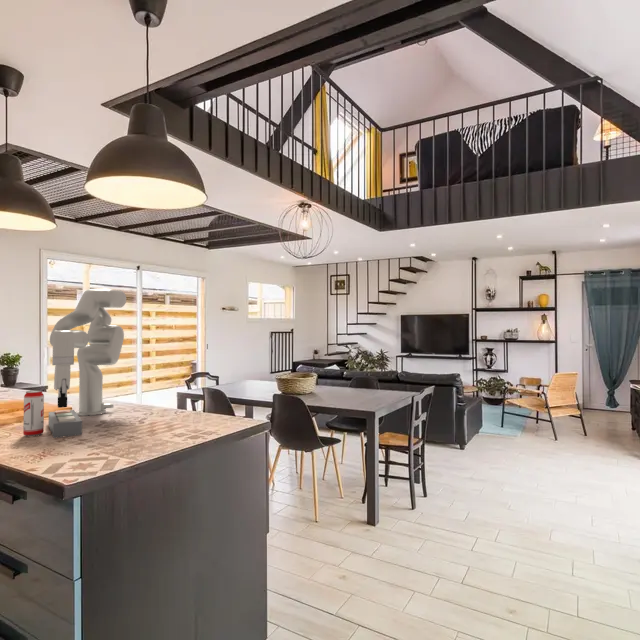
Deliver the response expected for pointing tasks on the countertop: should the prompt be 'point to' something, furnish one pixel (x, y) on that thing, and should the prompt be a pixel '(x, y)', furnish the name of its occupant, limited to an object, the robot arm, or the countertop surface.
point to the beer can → (33, 413)
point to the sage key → (64, 415)
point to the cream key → (66, 418)
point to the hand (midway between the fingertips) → (62, 407)
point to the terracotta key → (62, 411)
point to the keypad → (65, 425)
